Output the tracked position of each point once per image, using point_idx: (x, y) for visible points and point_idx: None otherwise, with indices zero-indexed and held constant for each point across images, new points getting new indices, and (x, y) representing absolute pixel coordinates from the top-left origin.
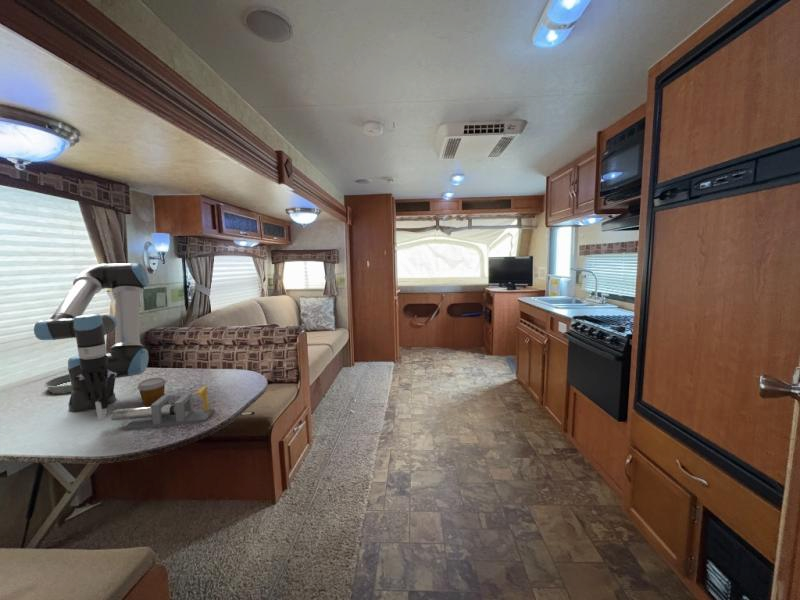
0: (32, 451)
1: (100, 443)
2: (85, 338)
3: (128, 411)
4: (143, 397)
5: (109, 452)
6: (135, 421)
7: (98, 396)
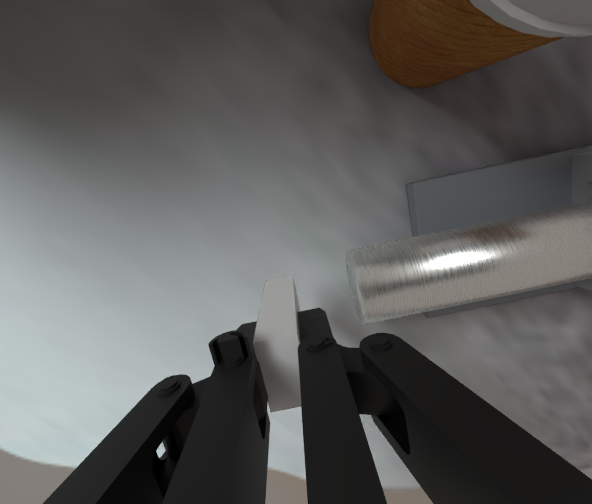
0: None
1: None
2: None
3: (475, 298)
4: (461, 54)
5: None
6: None
7: (251, 385)
